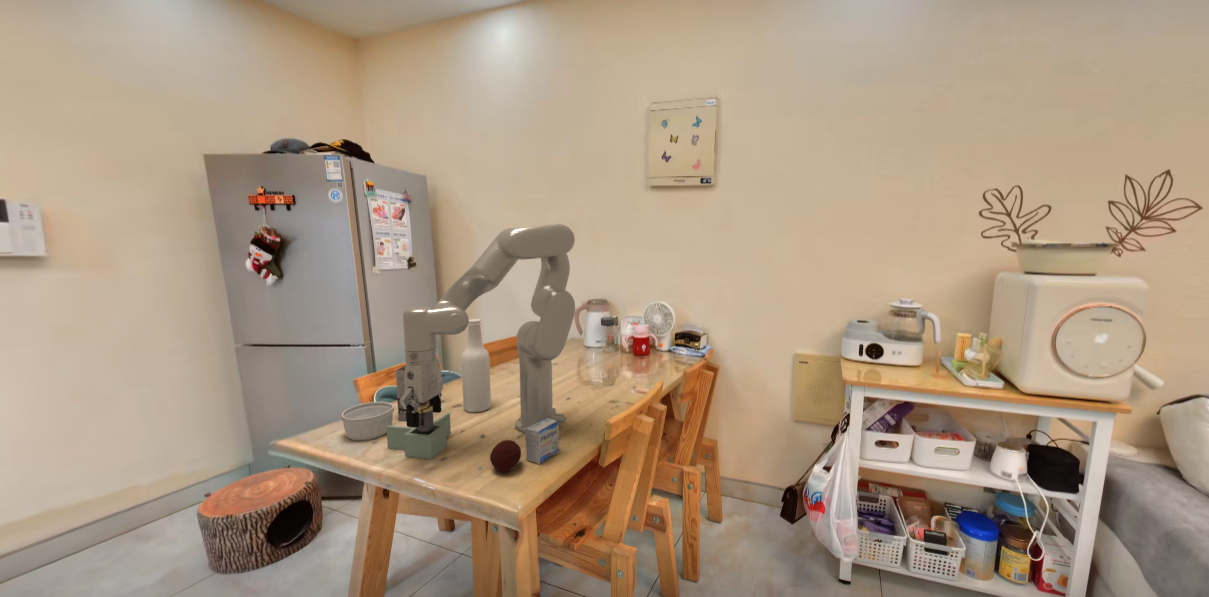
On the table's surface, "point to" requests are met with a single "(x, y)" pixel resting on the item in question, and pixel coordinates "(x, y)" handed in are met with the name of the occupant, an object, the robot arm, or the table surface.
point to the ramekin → (367, 420)
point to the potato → (505, 455)
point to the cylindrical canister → (425, 419)
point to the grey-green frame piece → (420, 439)
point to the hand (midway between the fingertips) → (424, 419)
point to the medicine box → (542, 440)
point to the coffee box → (401, 390)
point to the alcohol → (476, 371)
